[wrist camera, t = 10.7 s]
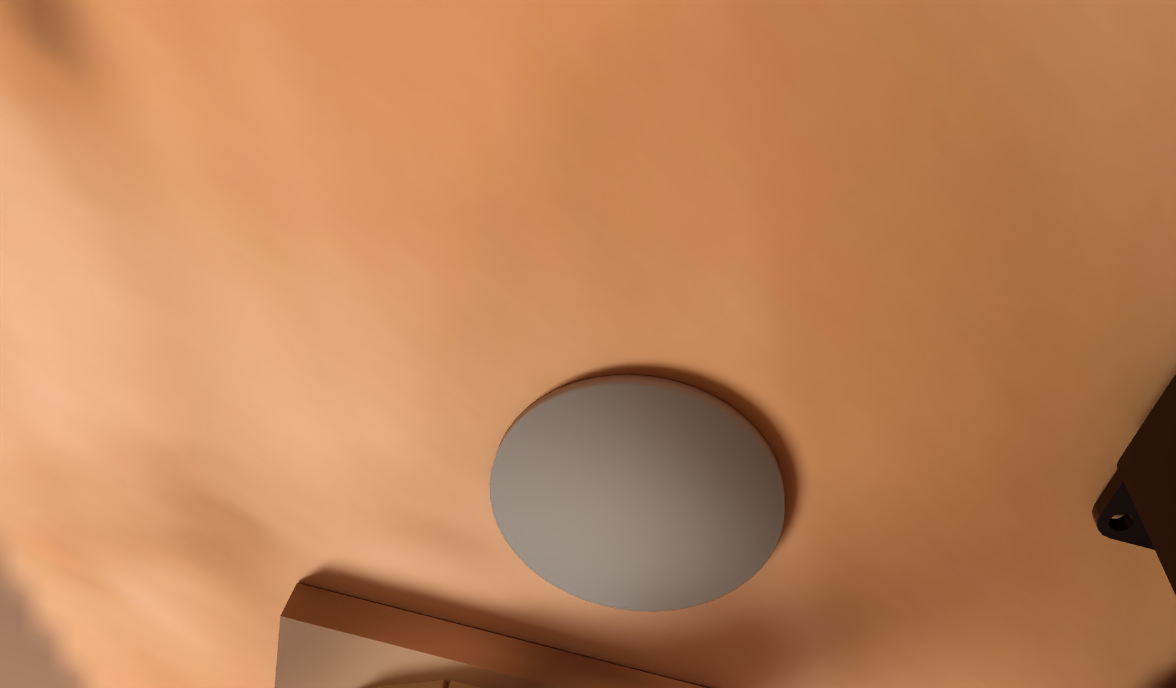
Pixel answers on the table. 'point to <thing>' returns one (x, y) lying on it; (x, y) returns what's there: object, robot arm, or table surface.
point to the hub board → (423, 652)
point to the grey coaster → (638, 493)
